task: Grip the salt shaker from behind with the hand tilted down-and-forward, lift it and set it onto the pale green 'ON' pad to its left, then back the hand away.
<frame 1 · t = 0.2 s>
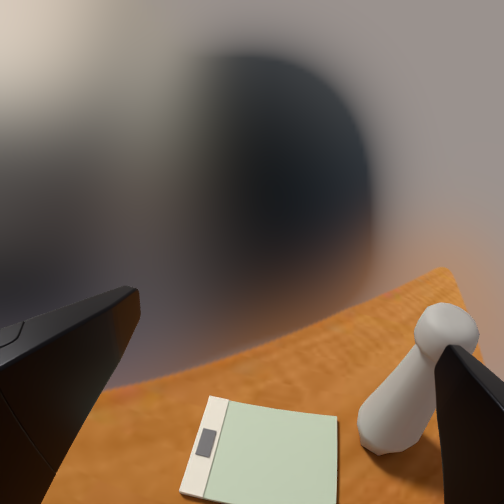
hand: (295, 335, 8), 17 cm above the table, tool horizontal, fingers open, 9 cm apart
salt shaker: (379, 436, 22), on the table
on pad: (276, 458, 20), on the table
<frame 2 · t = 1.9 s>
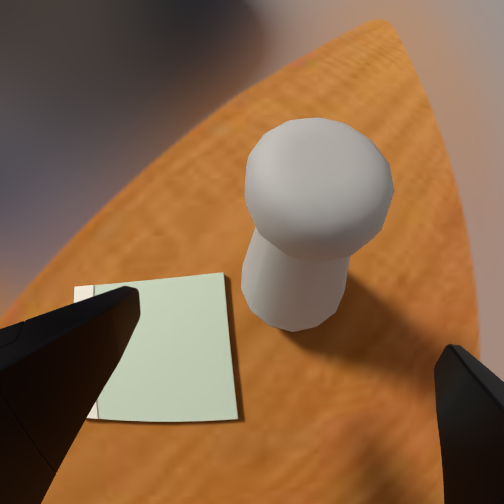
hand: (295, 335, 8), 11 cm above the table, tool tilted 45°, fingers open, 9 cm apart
salt shaker: (290, 290, 20), on the table
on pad: (158, 350, 19), on the table
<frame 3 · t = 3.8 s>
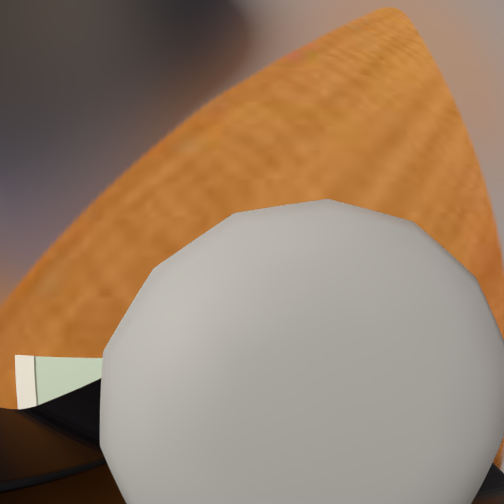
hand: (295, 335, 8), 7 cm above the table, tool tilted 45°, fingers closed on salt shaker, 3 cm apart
salt shaker: (276, 379, 14), on the table, touching gripper
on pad: (111, 443, 13), on the table
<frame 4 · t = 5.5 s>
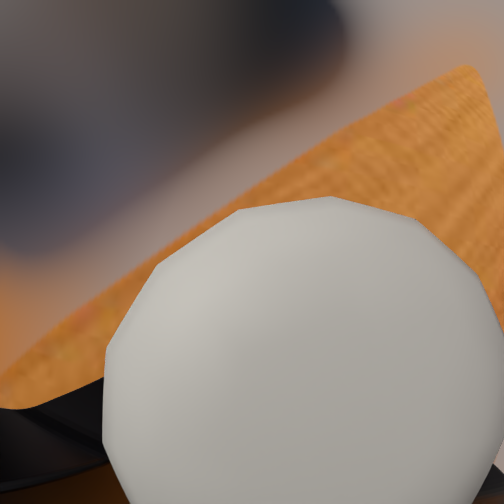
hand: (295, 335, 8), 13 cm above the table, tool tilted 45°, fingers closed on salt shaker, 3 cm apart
salt shaker: (276, 378, 14), point 6 cm above the table, touching gripper
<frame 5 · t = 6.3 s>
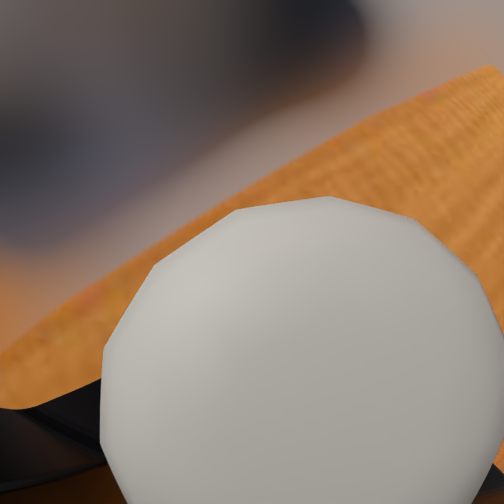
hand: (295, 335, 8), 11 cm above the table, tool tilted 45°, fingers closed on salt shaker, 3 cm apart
salt shaker: (276, 378, 14), point 4 cm above the table, touching gripper
when the fingers open (8 cm above the table, at t = 7.1 s): salt shaker drops 1 cm, resting on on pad.
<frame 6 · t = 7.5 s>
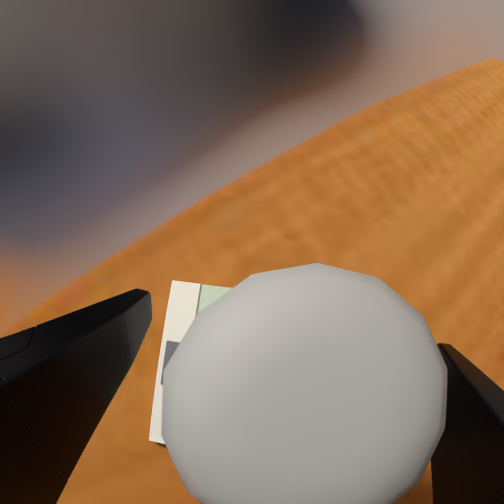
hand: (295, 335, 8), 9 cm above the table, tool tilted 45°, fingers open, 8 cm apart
salt shaker: (274, 383, 16), resting on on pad
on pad: (274, 378, 16), on the table
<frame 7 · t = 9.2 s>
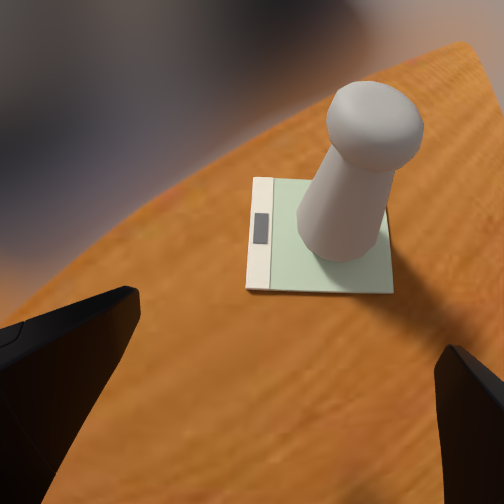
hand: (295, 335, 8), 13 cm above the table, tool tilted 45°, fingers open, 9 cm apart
salt shaker: (331, 236, 24), resting on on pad
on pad: (331, 234, 24), on the table
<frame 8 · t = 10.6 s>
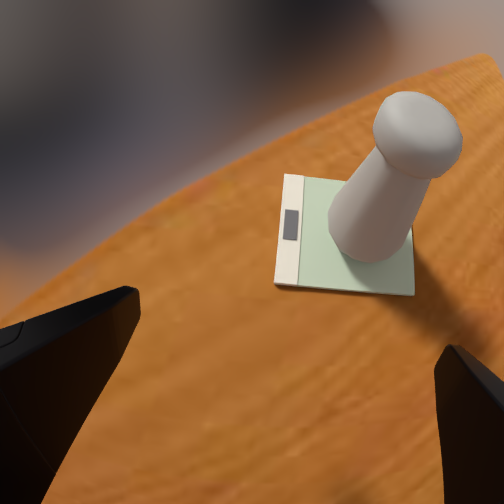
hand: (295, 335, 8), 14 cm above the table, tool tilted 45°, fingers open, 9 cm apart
salt shaker: (358, 236, 24), resting on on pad
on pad: (358, 234, 24), on the table
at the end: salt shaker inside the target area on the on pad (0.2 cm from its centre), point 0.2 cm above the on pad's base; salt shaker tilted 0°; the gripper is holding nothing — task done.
